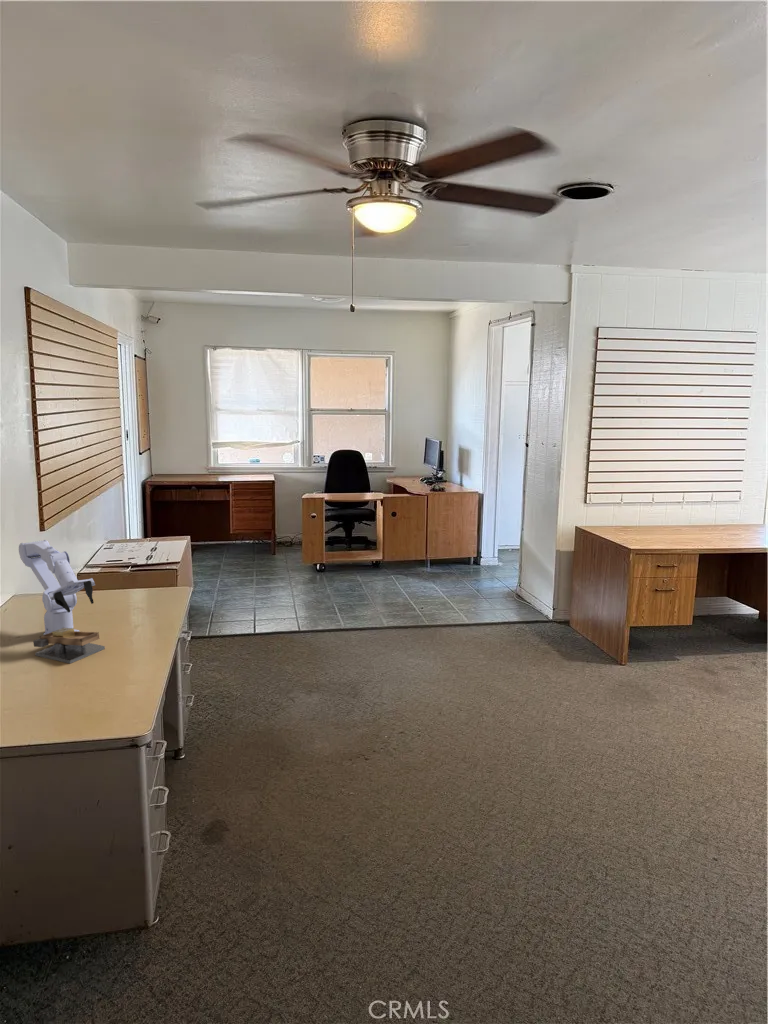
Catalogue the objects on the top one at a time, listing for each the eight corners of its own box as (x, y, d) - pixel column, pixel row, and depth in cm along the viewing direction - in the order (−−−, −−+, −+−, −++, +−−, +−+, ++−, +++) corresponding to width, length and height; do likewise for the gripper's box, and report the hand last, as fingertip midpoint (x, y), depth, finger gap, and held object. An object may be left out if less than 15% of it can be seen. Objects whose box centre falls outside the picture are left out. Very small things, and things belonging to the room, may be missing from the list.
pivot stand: (35, 655, 216) (34, 642, 215) (71, 641, 228) (70, 629, 228) (70, 663, 209) (69, 650, 208) (104, 648, 222) (103, 636, 221)
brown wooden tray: (34, 646, 217) (32, 639, 217) (63, 635, 228) (62, 628, 227) (76, 649, 209) (75, 641, 208) (105, 637, 219) (104, 630, 219)
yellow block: (53, 639, 218) (52, 631, 218) (64, 634, 222) (63, 627, 222) (63, 639, 216) (62, 632, 216) (74, 635, 220) (73, 628, 220)
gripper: (42, 578, 221) (56, 607, 214) (86, 563, 228) (101, 590, 222) (46, 591, 225) (59, 619, 219) (89, 576, 233) (103, 603, 226)
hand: (80, 606), depth 220 cm, fingers open, 7 cm apart
